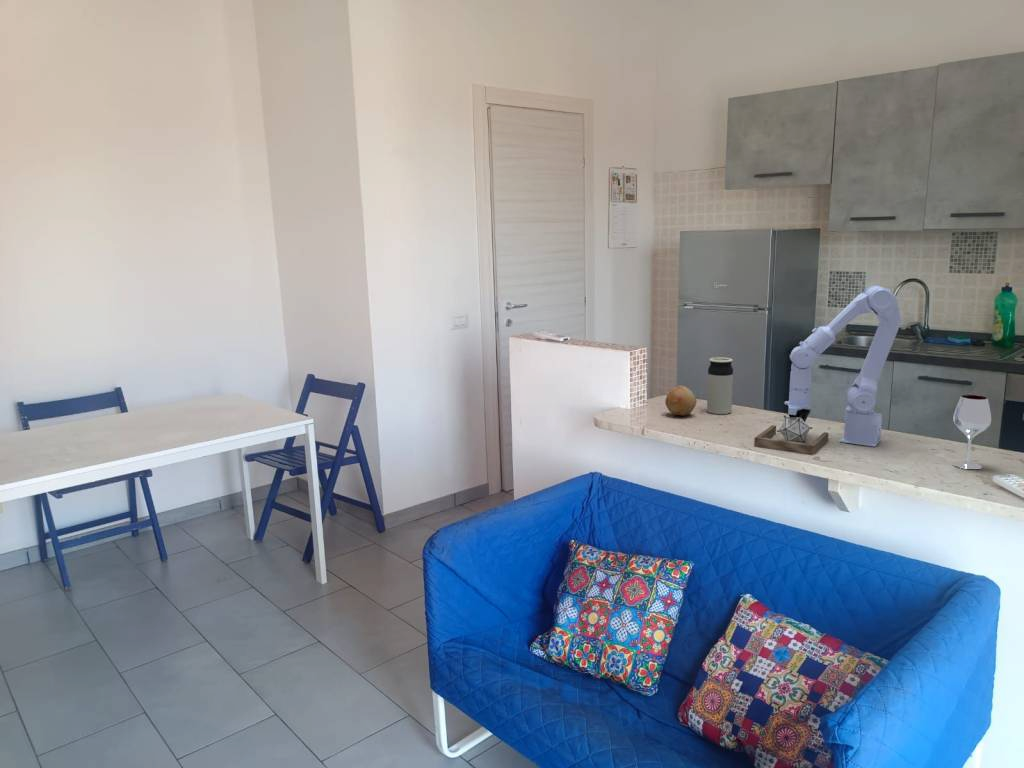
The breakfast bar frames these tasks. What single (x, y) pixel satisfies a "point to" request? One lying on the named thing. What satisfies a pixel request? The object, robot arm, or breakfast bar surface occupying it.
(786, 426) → the game die
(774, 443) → the u-shaped wooden tray
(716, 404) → the travel mug
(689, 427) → the breakfast bar surface
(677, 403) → the onion
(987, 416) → the wineglass
